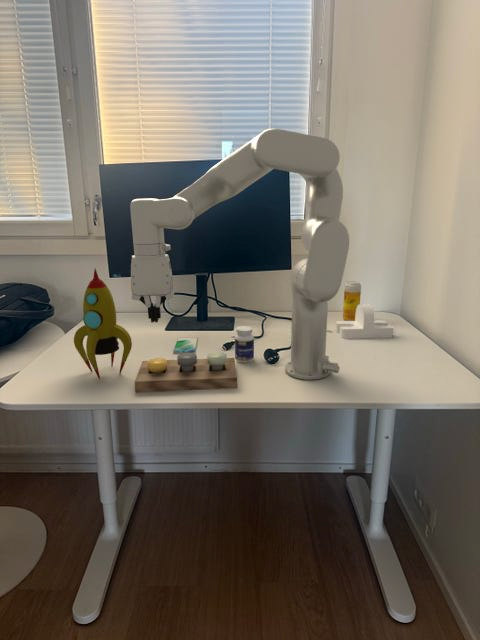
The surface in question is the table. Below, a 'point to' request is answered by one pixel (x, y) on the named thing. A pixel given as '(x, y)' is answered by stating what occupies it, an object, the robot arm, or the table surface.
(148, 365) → the button amber
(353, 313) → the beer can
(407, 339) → the table surface
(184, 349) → the smartphone
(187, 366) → the grey rounded lump
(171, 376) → the console
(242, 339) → the pill bottle
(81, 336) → the toy rocket
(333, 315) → the table surface
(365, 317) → the u-slot stand
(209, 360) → the button sage
